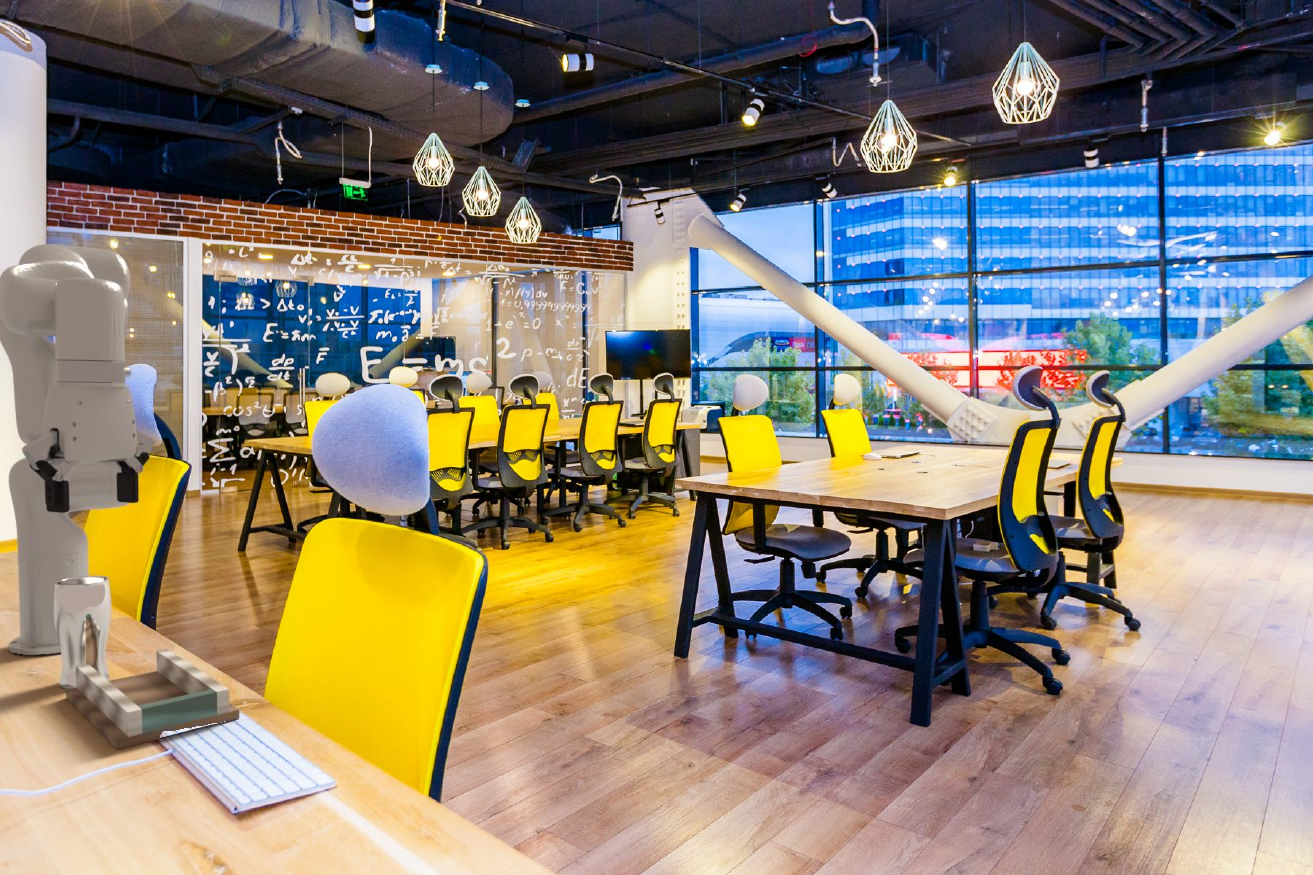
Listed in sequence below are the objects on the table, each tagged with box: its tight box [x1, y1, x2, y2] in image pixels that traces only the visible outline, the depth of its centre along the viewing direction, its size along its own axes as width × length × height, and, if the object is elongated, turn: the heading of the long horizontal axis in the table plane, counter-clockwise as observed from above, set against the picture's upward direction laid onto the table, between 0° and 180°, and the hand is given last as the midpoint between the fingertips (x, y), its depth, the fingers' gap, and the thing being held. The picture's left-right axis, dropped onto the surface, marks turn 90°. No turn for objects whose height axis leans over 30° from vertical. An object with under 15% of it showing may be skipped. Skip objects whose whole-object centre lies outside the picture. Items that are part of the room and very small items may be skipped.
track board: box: [65, 648, 240, 751], centre depth 116 cm, size 24×14×4 cm, turn 46°
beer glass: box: [54, 575, 112, 690], centre depth 126 cm, size 7×7×15 cm
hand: (94, 506), depth 113 cm, fingers open, 9 cm apart
